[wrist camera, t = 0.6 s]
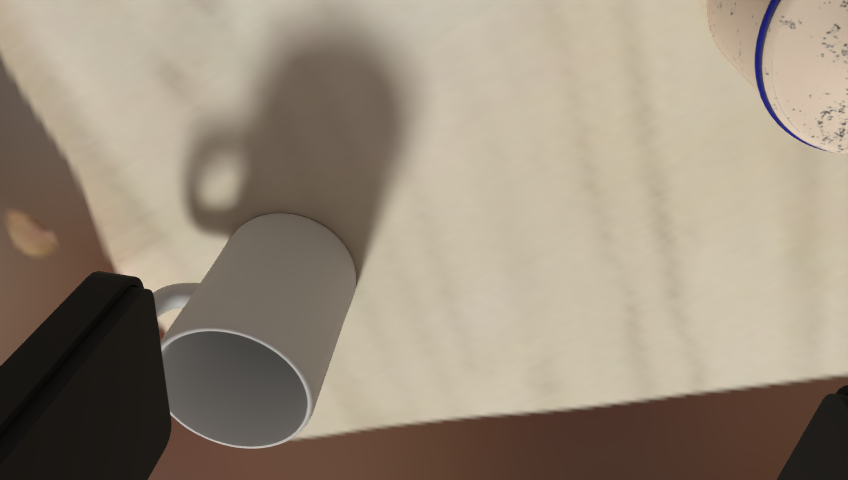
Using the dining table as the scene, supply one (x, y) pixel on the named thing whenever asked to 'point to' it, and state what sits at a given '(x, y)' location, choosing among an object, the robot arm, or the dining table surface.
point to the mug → (257, 332)
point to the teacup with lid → (791, 62)
